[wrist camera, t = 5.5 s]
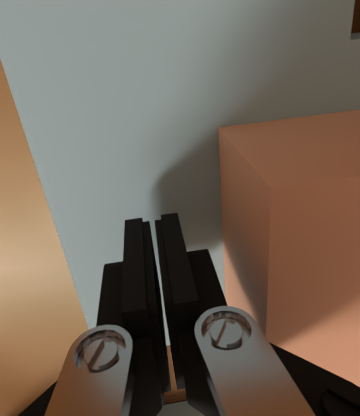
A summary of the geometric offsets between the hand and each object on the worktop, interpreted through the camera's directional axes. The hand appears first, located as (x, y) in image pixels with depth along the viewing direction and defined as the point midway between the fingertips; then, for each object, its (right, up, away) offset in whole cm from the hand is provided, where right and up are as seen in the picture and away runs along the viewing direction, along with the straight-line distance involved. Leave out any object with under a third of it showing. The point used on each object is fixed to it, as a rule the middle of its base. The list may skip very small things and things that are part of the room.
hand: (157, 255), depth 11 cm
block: (+6, +1, +1) cm, 6 cm away
